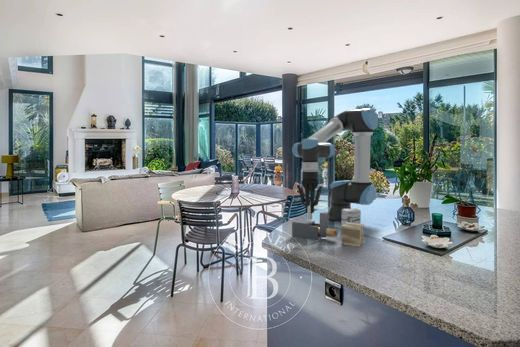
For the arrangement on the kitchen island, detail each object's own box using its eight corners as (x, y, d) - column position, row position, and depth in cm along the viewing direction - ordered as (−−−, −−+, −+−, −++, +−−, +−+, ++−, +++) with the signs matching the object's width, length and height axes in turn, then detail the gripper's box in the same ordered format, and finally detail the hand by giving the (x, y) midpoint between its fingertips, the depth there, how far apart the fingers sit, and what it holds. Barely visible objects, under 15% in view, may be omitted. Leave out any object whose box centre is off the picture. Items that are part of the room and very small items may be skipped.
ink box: (345, 233, 168) (345, 210, 167) (340, 231, 173) (341, 208, 172) (360, 232, 170) (361, 209, 169) (355, 230, 175) (356, 208, 174)
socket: (346, 239, 158) (346, 222, 157) (363, 242, 154) (363, 223, 153) (341, 244, 151) (341, 225, 150) (359, 246, 147) (359, 227, 146)
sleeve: (297, 233, 169) (297, 219, 168) (322, 236, 163) (322, 221, 162) (292, 237, 163) (292, 221, 162) (317, 240, 157) (317, 224, 156)
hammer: (302, 232, 166) (302, 209, 165) (337, 236, 158) (338, 212, 157) (298, 234, 163) (298, 210, 161) (335, 238, 154) (335, 214, 153)
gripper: (294, 171, 159) (294, 219, 161) (320, 172, 153) (320, 222, 155) (300, 170, 166) (300, 216, 168) (325, 170, 159) (325, 219, 162)
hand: (309, 219), depth 161 cm, fingers closed
